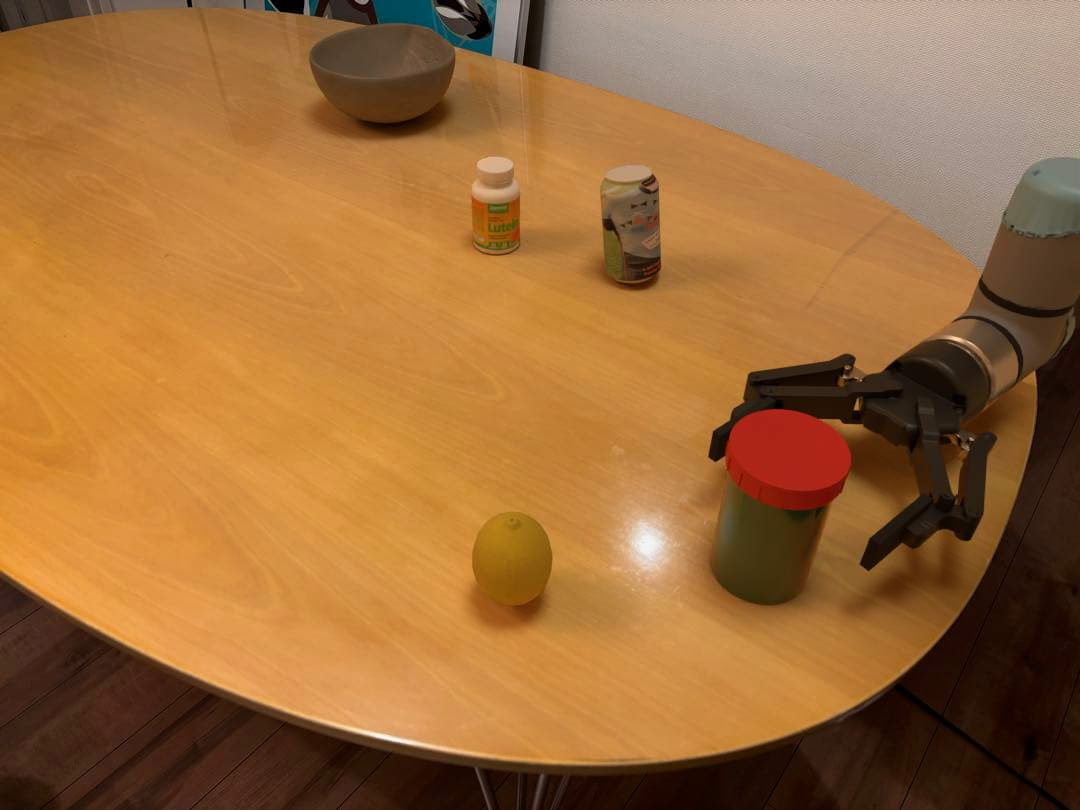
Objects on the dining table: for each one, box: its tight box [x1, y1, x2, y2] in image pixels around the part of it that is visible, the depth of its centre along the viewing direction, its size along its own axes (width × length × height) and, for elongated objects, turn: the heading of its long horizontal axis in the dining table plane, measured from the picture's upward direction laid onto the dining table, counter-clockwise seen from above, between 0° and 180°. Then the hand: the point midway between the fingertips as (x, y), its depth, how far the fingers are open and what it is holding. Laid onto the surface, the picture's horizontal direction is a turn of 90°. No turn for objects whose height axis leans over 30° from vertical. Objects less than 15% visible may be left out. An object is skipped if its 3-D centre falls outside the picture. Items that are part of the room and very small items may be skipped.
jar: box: [709, 471, 834, 606], centre depth 62 cm, size 7×7×12 cm
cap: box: [725, 409, 852, 510], centre depth 59 cm, size 8×8×2 cm
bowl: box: [308, 22, 457, 124], centre depth 126 cm, size 20×20×10 cm
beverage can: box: [599, 163, 662, 284], centre depth 93 cm, size 6×7×12 cm
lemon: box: [471, 511, 553, 606], centre depth 61 cm, size 6×6×8 cm
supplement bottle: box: [470, 156, 521, 255], centre depth 98 cm, size 5×5×10 cm
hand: (786, 497), depth 63 cm, fingers open, 13 cm apart
